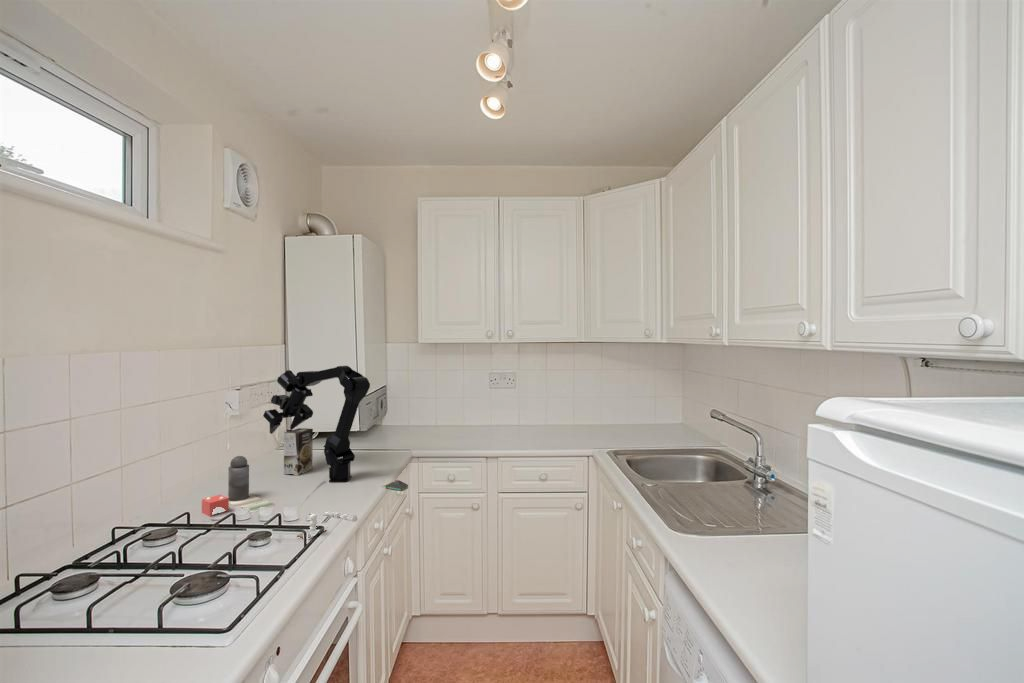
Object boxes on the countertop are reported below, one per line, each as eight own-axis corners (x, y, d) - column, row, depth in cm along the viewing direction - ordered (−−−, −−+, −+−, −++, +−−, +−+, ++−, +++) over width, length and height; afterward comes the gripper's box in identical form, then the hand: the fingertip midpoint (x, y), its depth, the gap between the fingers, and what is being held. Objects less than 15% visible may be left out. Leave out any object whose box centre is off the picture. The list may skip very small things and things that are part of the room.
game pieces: (314, 544, 118) (315, 521, 118) (277, 534, 123) (278, 513, 123) (415, 490, 160) (415, 473, 160) (384, 485, 165) (385, 469, 165)
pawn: (252, 494, 148) (252, 453, 148) (243, 501, 143) (243, 458, 143) (234, 495, 148) (234, 453, 148) (224, 501, 143) (224, 458, 142)
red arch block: (201, 516, 134) (201, 497, 133) (220, 511, 138) (220, 492, 138) (209, 520, 131) (209, 501, 131) (228, 515, 135) (228, 496, 135)
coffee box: (298, 476, 173) (298, 433, 173) (283, 474, 174) (283, 432, 174) (313, 469, 182) (313, 428, 181) (298, 468, 183) (299, 427, 183)
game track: (213, 504, 143) (213, 500, 143) (250, 494, 152) (250, 490, 152) (246, 519, 132) (246, 515, 132) (283, 507, 141) (284, 503, 141)
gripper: (303, 384, 189) (289, 414, 193) (262, 389, 172) (247, 422, 176) (320, 401, 185) (305, 431, 189) (280, 407, 168) (264, 440, 172)
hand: (281, 430), depth 182 cm, fingers open, 9 cm apart
